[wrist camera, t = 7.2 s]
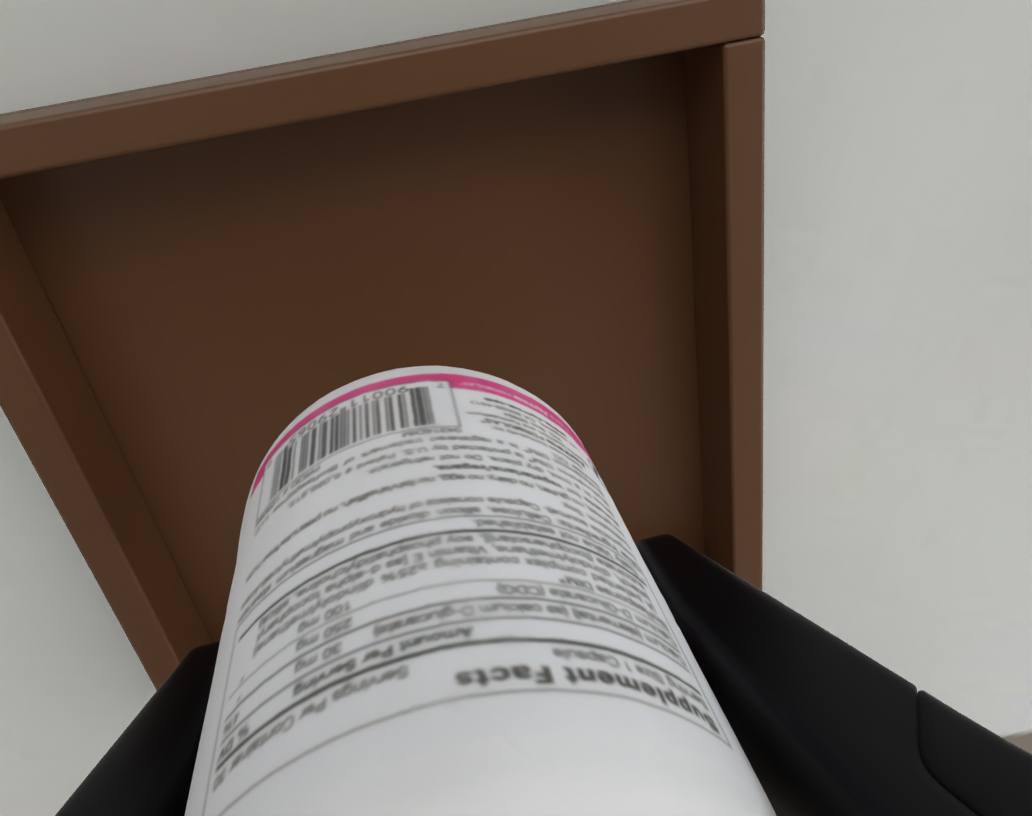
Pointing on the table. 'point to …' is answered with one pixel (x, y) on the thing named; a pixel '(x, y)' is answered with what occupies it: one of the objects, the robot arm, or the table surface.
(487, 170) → the tray
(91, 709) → the table surface
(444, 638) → the pill bottle
